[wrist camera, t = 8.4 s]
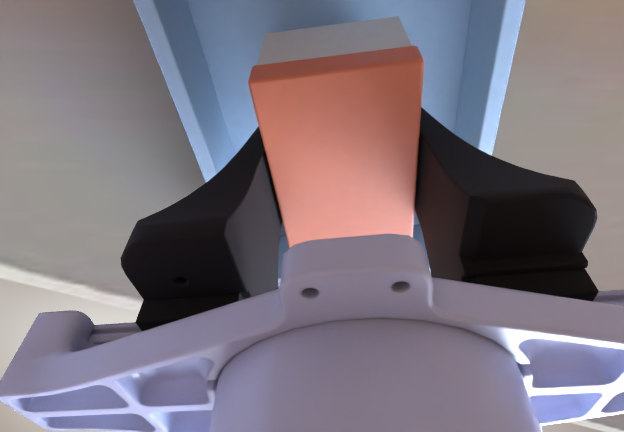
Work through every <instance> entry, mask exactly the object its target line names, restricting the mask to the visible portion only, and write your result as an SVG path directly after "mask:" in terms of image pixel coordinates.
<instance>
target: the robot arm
mask: <svg viewBox="0 0 624 432" xmlns="http://www.w3.org/2000/svg"><path fill="white" fill-rule="evenodd" d="M415 211H416V214H417V217H418V220H419V223H420V226H421V229H422V233H423V237H424V242H425V247H426V252H427V257H428V262H429V266H428V263H427V259H426V255H425V252H424V249H423V246H422V243H420V242H419V241H417V240H415V239H414V238H412V237H411V236H409V235H400V234H378V235H366V236H354V237H342V238H330V239H318V240H310V241H306V242H303V243H299V244H295V245H293V246H292V247H291V248H290V249H289V250H288V251H287V252H285V253H284V254H283V260H282V269H281V282H280V288H279V289H278V264H279V241H280V233H281V226H282V217H281V213H280V209H279V205H278V201H277V197H276V193H275V189H274V185H273V181H272V177H271V173H270V169H269V165H268V161H267V157H266V153H265V149H264V145H263V141H262V137H261V133H260V129H259V126H258V127H257V129H256V130H255V131H254V133H253V134H252V135H251V136H250V138H249V139H248V140H247V142H246V143H245V144H244V145H243V147H242V148H241V149H240V150H239V151H238V153H237V154H236V155H235V156H234V157H233V158H232V159H231V160H230V161H229V162H228V163H227V164H226V166H225V167H224V168H223V169H221V170H220V171H219V172H218V173H217V174H216V175H215V176H214V177H212V178H211V179H210V180H209V181H208V182H206V183H205V184H204V185H202V186H201V187H199V188H198V189H197V190H195V191H194V192H192V193H191V194H190V195H188V196H186V197H185V198H183V199H182V200H180V201H178V202H176V203H175V204H173V205H171V206H169V207H167V208H165V209H163V210H161V211H159V212H157V213H155V214H152V215H150V216H148V217H146V218H144V219H141V220H139V221H138V222H137V224H136V225H135V227H134V229H133V231H132V234H131V236H130V238H129V240H128V242H127V245H126V247H125V249H124V252H123V254H122V257H121V266H122V268H123V270H124V272H125V274H126V275H127V277H128V278H129V280H130V281H131V282H132V284H133V285H134V287H135V288H136V289H137V291H138V292H139V294H140V295H141V296H142V298H143V299H144V301H143V303H142V306H141V309H140V312H139V314H138V317H137V320H136V322H134V323H119V324H104V325H94V324H93V322H92V321H91V319H90V318H89V317H88V316H87V315H85V314H84V313H82V312H79V311H58V312H44V313H39V314H38V316H37V318H36V320H35V321H34V323H33V325H32V326H31V328H30V330H29V331H28V333H27V335H26V337H25V338H24V340H23V342H22V344H21V346H20V347H19V349H18V351H17V352H16V354H15V356H14V358H13V359H12V361H11V363H10V365H9V367H8V368H7V370H6V372H5V373H4V375H3V377H2V378H1V380H0V402H2V403H3V404H5V405H7V406H8V407H10V408H12V409H13V410H15V411H16V412H18V413H20V414H22V415H23V416H25V417H26V418H28V419H30V420H31V421H33V422H35V423H36V424H38V425H39V426H41V427H43V428H44V429H46V430H48V431H74V430H85V431H116V432H543V431H542V428H541V426H543V425H549V424H556V423H562V422H569V421H576V420H582V419H589V418H596V417H602V416H609V415H616V414H622V413H624V290H611V291H598V289H597V288H596V286H595V285H594V283H593V281H592V280H591V278H590V276H589V275H588V273H587V272H586V270H585V268H586V267H587V266H588V261H587V259H586V258H585V256H584V255H583V253H582V250H583V249H584V247H585V245H586V243H587V241H588V239H589V237H590V235H591V233H592V231H593V229H594V227H595V223H596V220H597V212H596V208H595V207H594V205H593V204H592V203H591V201H590V200H589V198H588V197H587V195H586V194H585V193H584V191H583V190H582V189H581V188H580V186H579V185H578V184H577V183H576V182H575V181H573V180H569V179H564V178H559V177H555V176H550V175H545V174H541V173H538V172H534V171H531V170H528V169H524V168H521V167H518V166H515V165H513V164H510V163H508V162H505V161H503V160H500V159H498V158H495V157H493V156H491V155H489V154H487V153H485V152H483V151H481V150H479V149H477V148H476V147H474V146H472V145H470V144H469V143H467V142H466V141H464V140H463V139H461V138H460V137H458V136H457V135H455V134H454V133H452V132H451V131H450V130H448V129H447V128H446V127H445V126H443V125H442V124H441V123H440V122H438V121H437V120H436V119H435V118H434V117H432V116H431V115H430V114H429V113H428V112H427V111H425V110H424V109H423V108H422V107H421V119H420V134H419V150H418V165H417V180H416V195H415ZM429 267H430V270H429ZM430 272H431V274H430Z"/></svg>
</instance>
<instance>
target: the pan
mask: <svg viewBox="0 0 624 432" xmlns="http://www.w3.org/2000/svg"><path fill="white" fill-rule="evenodd" d="M133 1H134V3H135V6H136V8H137V11H138V13H139V16H140V18H141V21H142V23H143V26H144V28H145V31H146V33H147V36H148V38H149V41H150V44H151V46H152V49H153V51H154V54H155V56H156V59H157V61H158V64H159V66H160V69H161V71H162V74H163V76H164V79H165V81H166V84H167V86H168V89H169V91H170V94H171V96H172V99H173V101H174V104H175V106H176V109H177V111H178V114H179V116H180V119H181V121H182V124H183V126H184V129H185V131H186V134H187V137H188V139H189V142H190V144H191V147H192V149H193V152H194V154H195V157H196V159H197V162H198V164H199V167H200V169H201V172H202V174H203V177H204V179H205V182H208V181H209V180H210V179H211V178H212V177H214V176H215V175H216V174H217V173H218V172H219V171H220V170H221V169H223V168H224V167H225V166H226V164H227V163H228V162H229V161H230V160H231V159H232V158H233V157H234V156H235V155H236V154H237V153H238V151H239V150H240V149H241V148H242V147H243V145H244V144H245V143H246V142H247V140H248V139H249V138H250V136H251V135H252V134H253V133H254V131H255V130H256V129H257V127H258V126H259V125H258V121H257V117H256V113H255V109H254V105H253V101H252V97H251V93H250V89H249V85H248V81H249V77H250V73H251V69H252V67H253V66H255V65H257V64H258V60H259V56H260V52H261V48H262V44H263V40H264V36H265V34H266V33H274V32H281V31H289V30H297V29H304V28H312V27H319V26H327V25H334V24H342V23H349V22H357V21H365V20H372V19H380V18H387V17H395V16H398V17H399V19H400V21H401V23H402V25H403V27H404V30H405V32H406V34H407V36H408V38H409V41H410V43H411V45H412V46H417V47H418V49H419V51H420V53H421V55H422V58H423V60H424V73H423V88H422V104H421V107H422V108H423V109H424V110H425V111H427V112H428V113H429V114H430V115H431V116H432V117H434V118H435V119H436V120H437V121H438V122H440V123H441V124H442V125H443V126H445V127H446V128H447V129H448V130H450V131H451V132H452V133H454V134H455V135H457V136H458V137H460V138H461V139H463V140H464V141H466V142H467V143H469V144H470V145H472V146H474V147H476V148H477V149H479V150H481V151H483V152H485V153H487V154H489V155H491V156H492V152H493V147H494V143H495V138H496V133H497V129H498V124H499V120H500V115H501V111H502V106H503V101H504V97H505V92H506V88H507V83H508V78H509V74H510V69H511V65H512V60H513V56H514V51H515V46H516V42H517V37H518V33H519V28H520V23H521V19H522V14H523V10H524V5H525V1H526V0H133ZM413 238H414V239H415V240H417V241H419V242H420V243H422V246H423V249H424V252H425V255H426V259H427V263H428V266H429V262H428V257H427V252H426V247H425V242H424V237H423V233H422V229H421V226H420V223H419V220H418V217H417V214H416V211H414V226H413ZM288 250H289V245H288V241H287V237H286V233H285V229H284V225H283V221H282V226H281V233H280V241H279V264H278V285H280V282H281V269H282V260H283V254H284V253H285V252H287V251H288ZM429 270H430V267H429ZM430 274H431V272H430Z"/></svg>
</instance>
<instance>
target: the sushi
mask: <svg viewBox="0 0 624 432" xmlns="http://www.w3.org/2000/svg"><path fill="white" fill-rule="evenodd" d="M423 73H424V60H423V58H422V55H421V53H420V51H419V49H418V47H417V46H412V45H411V43H410V41H409V38H408V36H407V34H406V32H405V30H404V27H403V25H402V23H401V21H400V19H399V17H398V16H395V17H387V18H380V19H372V20H365V21H357V22H349V23H342V24H334V25H327V26H319V27H312V28H304V29H297V30H289V31H281V32H274V33H266V34H265V36H264V40H263V44H262V48H261V52H260V56H259V60H258V64H257V65H255V66H253V67H252V69H251V73H250V77H249V81H248V85H249V89H250V93H251V97H252V101H253V105H254V109H255V113H256V117H257V121H258V125H259V129H260V133H261V137H262V141H263V145H264V149H265V153H266V157H267V161H268V165H269V169H270V173H271V177H272V181H273V185H274V189H275V193H276V197H277V201H278V205H279V209H280V213H281V217H282V221H283V225H284V229H285V233H286V237H287V241H288V245H289V249H290V248H291V247H292V246H293V245H295V244H299V243H303V242H306V241H310V240H318V239H330V238H342V237H354V236H366V235H378V234H400V235H409V236H411V237H412V238H413V226H414V211H415V195H416V180H417V165H418V150H419V134H420V119H421V104H422V88H423Z"/></svg>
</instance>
